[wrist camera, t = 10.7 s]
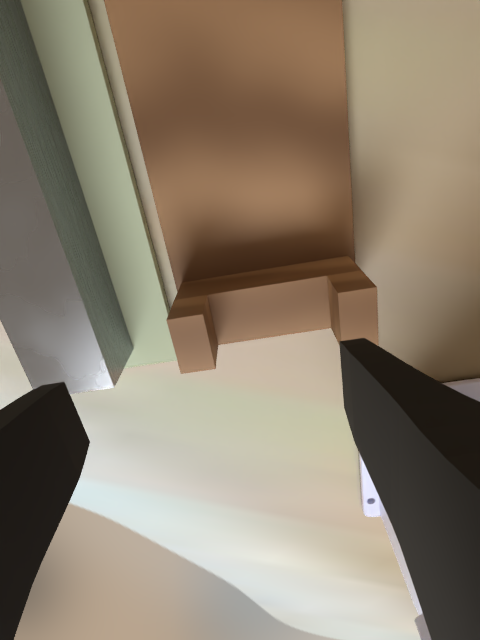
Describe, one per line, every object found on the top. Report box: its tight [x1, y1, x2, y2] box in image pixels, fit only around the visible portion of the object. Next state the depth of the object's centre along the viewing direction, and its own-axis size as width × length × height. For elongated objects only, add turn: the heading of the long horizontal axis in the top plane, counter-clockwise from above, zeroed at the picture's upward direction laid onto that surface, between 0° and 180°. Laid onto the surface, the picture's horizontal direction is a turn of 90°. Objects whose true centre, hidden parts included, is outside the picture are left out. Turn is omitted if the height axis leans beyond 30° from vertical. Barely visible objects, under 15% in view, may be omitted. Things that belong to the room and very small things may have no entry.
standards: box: [104, 0, 378, 374], centre depth 14 cm, size 18×8×5 cm, turn 10°
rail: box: [0, 0, 134, 394], centre depth 15 cm, size 18×4×4 cm, turn 10°
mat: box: [21, 0, 177, 368], centre depth 17 cm, size 20×8×1 cm, turn 10°
